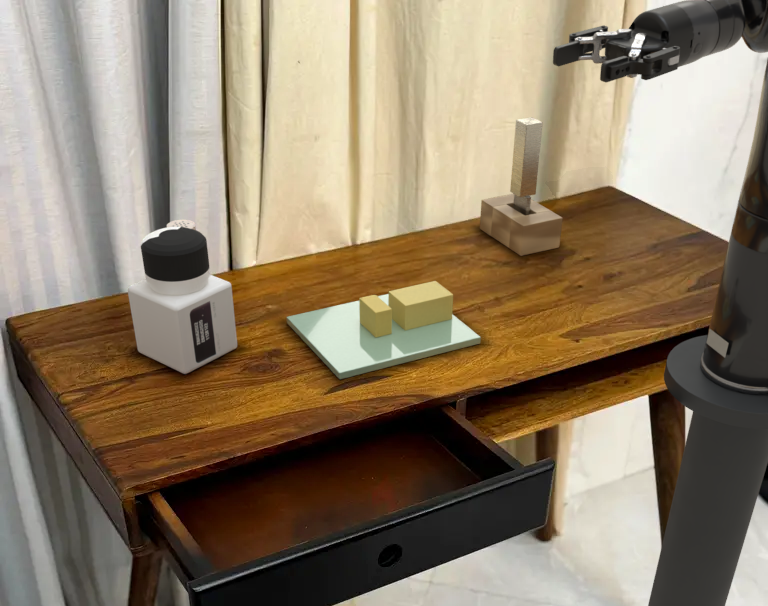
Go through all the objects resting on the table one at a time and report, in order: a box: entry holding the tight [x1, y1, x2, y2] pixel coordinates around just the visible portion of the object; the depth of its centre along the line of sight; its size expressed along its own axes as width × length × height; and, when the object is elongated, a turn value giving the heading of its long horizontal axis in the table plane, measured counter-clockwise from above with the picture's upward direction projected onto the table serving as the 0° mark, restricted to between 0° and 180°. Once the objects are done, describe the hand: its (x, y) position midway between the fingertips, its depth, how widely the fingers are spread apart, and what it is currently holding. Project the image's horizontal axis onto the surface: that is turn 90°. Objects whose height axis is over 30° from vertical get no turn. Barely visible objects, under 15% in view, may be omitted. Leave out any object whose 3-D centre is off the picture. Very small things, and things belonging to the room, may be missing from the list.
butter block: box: [388, 280, 454, 330], centre depth 109 cm, size 4×6×3 cm, turn 117°
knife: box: [509, 117, 544, 216], centre depth 125 cm, size 3×2×15 cm
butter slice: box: [358, 294, 392, 337], centre depth 107 cm, size 4×2×3 cm, turn 27°
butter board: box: [286, 293, 482, 380], centre depth 109 cm, size 14×17×1 cm
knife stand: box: [479, 193, 564, 257], centre depth 129 cm, size 10×6×4 cm, turn 27°
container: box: [127, 226, 238, 375], centre depth 102 cm, size 8×8×13 cm
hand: (578, 65), depth 120 cm, fingers open, 8 cm apart
